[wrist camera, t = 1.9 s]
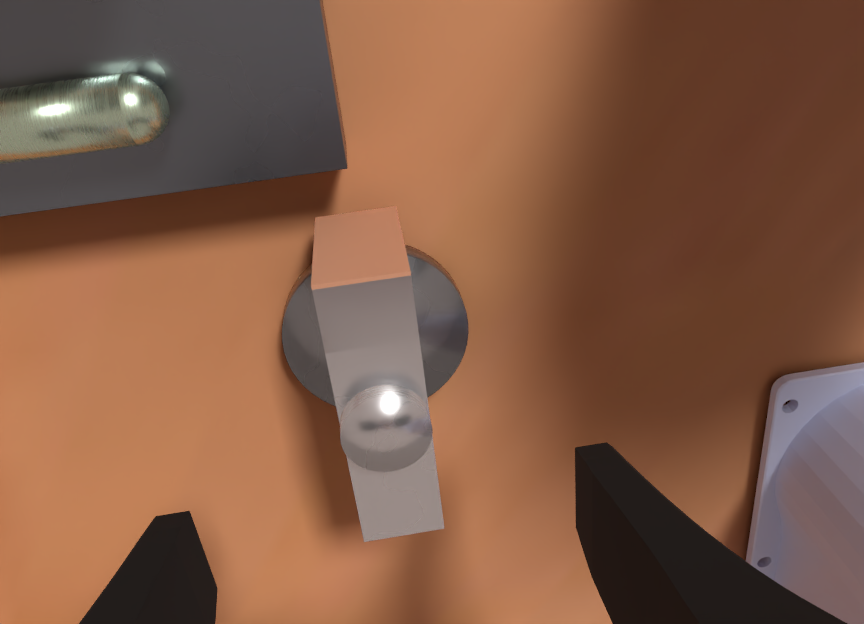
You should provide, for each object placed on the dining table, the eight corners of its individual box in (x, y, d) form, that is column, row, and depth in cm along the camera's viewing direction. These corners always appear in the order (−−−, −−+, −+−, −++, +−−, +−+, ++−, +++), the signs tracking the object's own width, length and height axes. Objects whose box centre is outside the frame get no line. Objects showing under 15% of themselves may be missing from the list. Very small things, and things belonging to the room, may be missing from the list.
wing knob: (473, 411, 22) (508, 533, 18) (308, 437, 22) (302, 568, 17) (452, 188, 19) (488, 270, 14) (256, 215, 18) (232, 308, 14)
